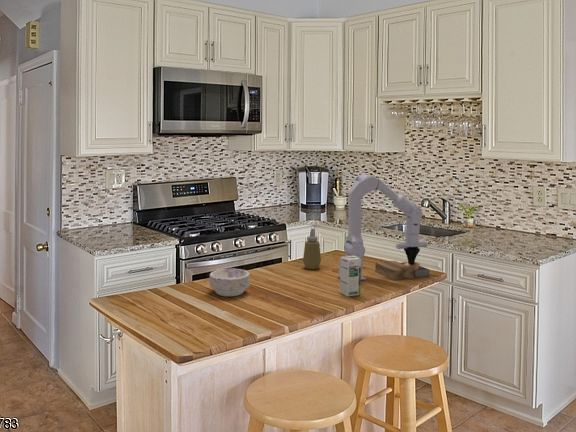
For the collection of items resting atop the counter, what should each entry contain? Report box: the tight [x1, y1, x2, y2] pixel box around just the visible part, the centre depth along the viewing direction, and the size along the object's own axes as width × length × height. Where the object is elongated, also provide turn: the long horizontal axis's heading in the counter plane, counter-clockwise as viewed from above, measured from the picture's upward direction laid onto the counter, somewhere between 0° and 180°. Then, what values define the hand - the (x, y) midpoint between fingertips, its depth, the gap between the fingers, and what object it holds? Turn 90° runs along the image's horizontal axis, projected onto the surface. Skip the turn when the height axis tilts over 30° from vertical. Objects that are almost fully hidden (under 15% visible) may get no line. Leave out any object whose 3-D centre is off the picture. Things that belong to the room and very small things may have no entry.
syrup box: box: [339, 255, 362, 298], centre depth 218 cm, size 6×6×14 cm
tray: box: [400, 261, 430, 279], centre depth 252 cm, size 7×15×3 cm, turn 21°
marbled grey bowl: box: [209, 268, 251, 297], centre depth 218 cm, size 15×15×8 cm
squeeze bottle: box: [302, 228, 322, 271], centre depth 256 cm, size 8×8×18 cm
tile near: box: [408, 261, 421, 271], centre depth 248 cm, size 5×5×2 cm
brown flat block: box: [375, 260, 415, 281], centre depth 248 cm, size 10×15×4 cm, turn 21°
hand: (411, 264), depth 248 cm, fingers closed
